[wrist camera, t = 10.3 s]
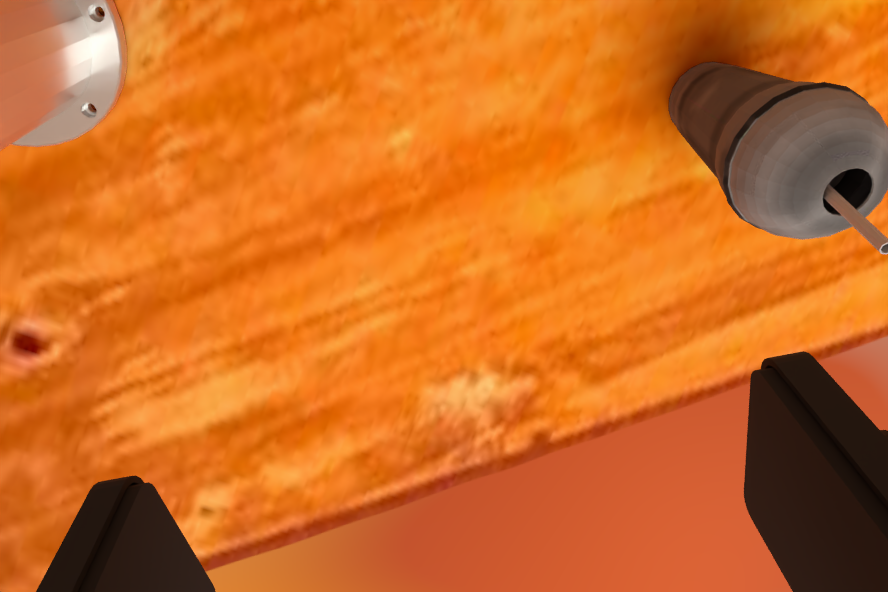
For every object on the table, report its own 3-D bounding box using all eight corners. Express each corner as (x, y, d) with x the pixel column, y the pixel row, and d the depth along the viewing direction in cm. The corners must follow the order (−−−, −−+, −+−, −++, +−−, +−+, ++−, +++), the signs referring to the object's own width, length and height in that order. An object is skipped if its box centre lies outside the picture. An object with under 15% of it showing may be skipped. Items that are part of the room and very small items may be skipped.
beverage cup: (765, 137, 43) (1010, 294, 25) (653, 169, 43) (818, 344, 26) (760, 21, 39) (1044, 114, 22) (639, 59, 40) (819, 177, 22)
